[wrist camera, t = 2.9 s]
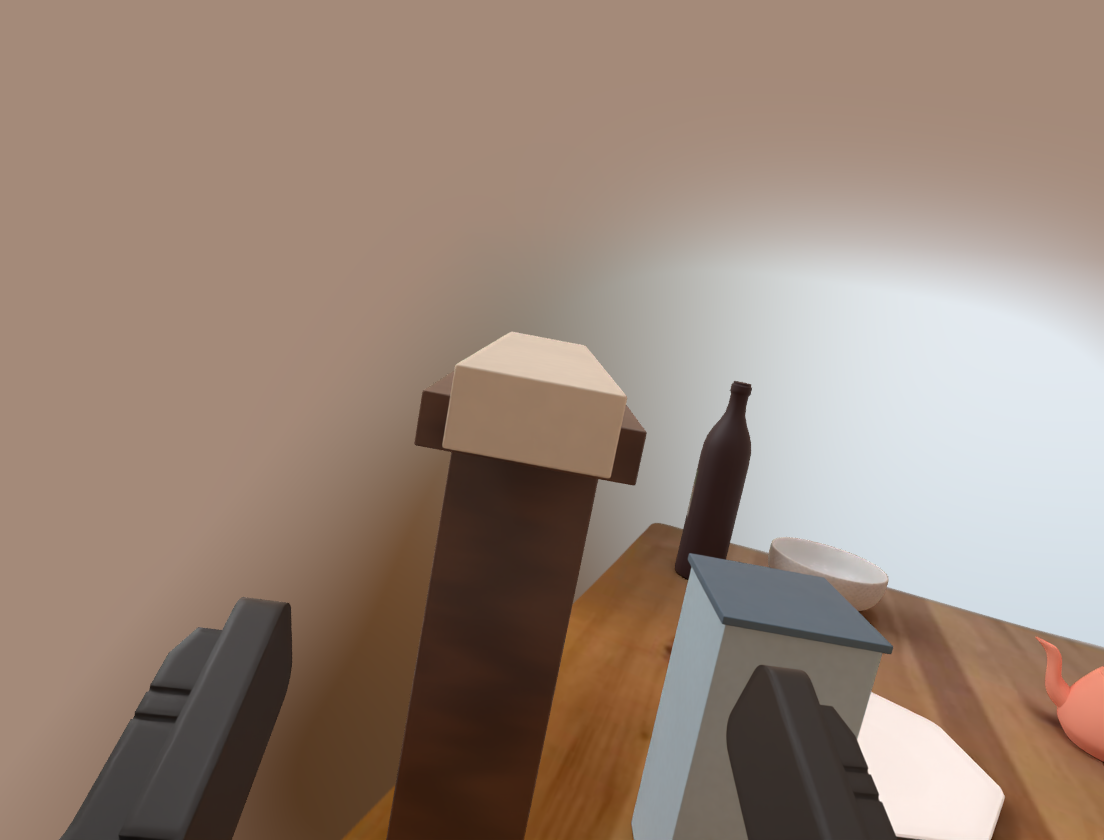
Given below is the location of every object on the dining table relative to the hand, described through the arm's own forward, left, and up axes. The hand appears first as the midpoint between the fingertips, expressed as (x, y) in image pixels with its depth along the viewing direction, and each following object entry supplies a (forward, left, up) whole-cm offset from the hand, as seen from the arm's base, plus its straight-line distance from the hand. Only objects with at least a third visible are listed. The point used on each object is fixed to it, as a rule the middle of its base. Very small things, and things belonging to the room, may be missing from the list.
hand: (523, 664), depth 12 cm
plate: (+34, +47, -30) cm, 65 cm away
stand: (-1, +19, -30) cm, 35 cm away
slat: (-1, +15, +2) cm, 15 cm away
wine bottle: (+28, +87, -30) cm, 96 cm away
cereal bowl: (+46, +85, -30) cm, 101 cm away
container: (+16, +29, -30) cm, 44 cm away
